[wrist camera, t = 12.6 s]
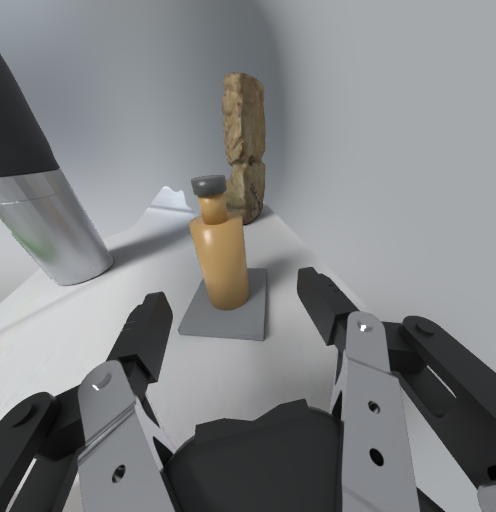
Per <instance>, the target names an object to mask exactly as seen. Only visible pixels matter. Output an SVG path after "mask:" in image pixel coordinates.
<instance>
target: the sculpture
mask: <svg viewBox="0 0 496 512" xmlns="http://www.w3.org/2000/svg"><path fill="white" fill-rule="evenodd" d="M223 84H224V90H225V91H224V96H223V100H222V111H223V114H224V120H223V125H224V134H225V139H224V141H225V148H226V156H227V161H228V163H229V164H230V165H231V166H232V167H233V169H232V173H231V177H230V178H229V179H228V180H227V181H226V187H227V190H226V191H225V192H224V194H225V201H226V208H227V212H235V213H238V214H240V215H241V216H242V223H243V224H247V223H250V222H251V221H252V220H253V219H254V218H256V217H257V216H258V215H259V214H260V212H261V211H262V208H263V198H264V189H265V164H264V163H263V162H262V160H261V158H262V156H263V153H264V152H265V117H264V107H263V101H264V86H263V84H262V83H261V82H260V81H259V80H257V79H256V78H254V77H252V76H249V75H247V74H245V73H229V74H227V75H226V76H225V77H224V81H223Z"/></svg>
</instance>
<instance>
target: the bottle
mask: <svg viewBox="0 0 496 512" xmlns="http://www.w3.org/2000/svg"><path fill="white" fill-rule="evenodd" d="M191 183H192V188H193V192H194V194H195V195H198V200H199V204H200V208H201V213H202V215H201V216H199V217H196V218H195V219H193V220H192V221H191V222H190V223H189V227H190V230H191V234H192V238H193V241H194V245H195V249H196V252H197V256H198V259H199V263H200V267H201V270H202V274H203V278H204V281H205V285H206V288H207V292H208V296H209V299H210V302H211V304H212V305H213V306H214V307H215V308H217V309H219V310H234V309H237V308H239V307H241V306H242V305H244V304H245V303H246V301H247V300H248V298H249V283H248V273H247V263H246V253H245V243H244V233H243V223H242V216H241V215H240V214H238V213H235V212H227V208H226V201H225V194H224V192H225V191H226V190H227V187H226V179H225V176H224V175H209V176H202V177H197V178H194V179H191Z"/></svg>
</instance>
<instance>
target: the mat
mask: <svg viewBox="0 0 496 512" xmlns="http://www.w3.org/2000/svg"><path fill="white" fill-rule="evenodd" d="M247 273H248V283H249V298H248V300H247V301H246V303H245V304H244V305H242V306H241V307H239V308H237V309H234V310H219V309H217V308H215V307H214V306H213V305H212V304H211V302H210V299H209V296H208V292H207V288H206V285H205V281H204V278H203V280H202V282H201V284H200V286H199V288H198V290H197V292H196V294H195V296H194V298H193V300H192V302H191V304H190V306H189V308H188V310H187V312H186V314H185V316H184V318H183V320H182V322H181V324H180V326H179V328H178V332H179V334H180V335H190V336H204V337H218V338H232V339H246V340H260V341H264V321H265V300H266V279H267V269H250V268H247Z"/></svg>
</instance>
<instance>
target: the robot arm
mask: <svg viewBox="0 0 496 512" xmlns="http://www.w3.org/2000/svg"><path fill="white" fill-rule="evenodd" d="M59 168H60V167H59V165H58V164H57V162H56V160H55V158H54V156H53V153H52V150H51V148H50V145H49V143H48V141H47V139H46V137H45V135H44V134H43V132H42V130H41V128H40V126H39V125H38V123H37V121H36V119H35V117H34V115H33V113H32V111H31V109H30V107H29V105H28V104H27V101H26V99H25V98H24V95H23V93H22V91H21V89H20V87H19V86H18V84H17V82H16V80H15V78H14V76H13V74H12V73H11V71H10V69H9V67H8V66H7V64H6V62H5V61H4V59H3V58H2V56H1V54H0V219H1V220H2V222H3V223H4V224H5V225H6V226H7V227H8V229H9V230H10V231H11V232H12V235H13V237H14V238H15V239H16V240H17V241H18V242H19V243H20V244H21V246H22V247H23V248H24V249H25V250H26V251H27V252H28V254H29V255H30V256H31V257H32V258H33V259H34V260H35V262H36V263H37V264H38V265H39V266H40V267H41V268H42V269H43V271H44V272H45V273H46V274H47V275H48V276H49V277H50V279H53V280H54V281H55V283H57V284H59V285H72V284H77V283H80V282H83V281H86V280H89V279H91V278H93V277H96V276H98V275H99V274H101V273H103V272H104V271H106V270H107V269H108V268H109V267H110V266H111V265H112V264H113V262H114V260H113V258H112V256H111V254H110V253H109V251H108V249H107V248H106V246H105V244H104V242H103V241H102V239H101V237H100V235H99V234H98V232H97V230H96V229H95V227H94V225H93V223H92V222H91V220H90V218H89V217H88V215H87V213H86V211H85V210H84V208H83V206H82V205H81V203H80V201H79V199H78V198H77V196H76V194H75V193H74V191H73V189H72V188H71V186H70V184H69V182H68V181H67V179H66V178H65V176H64V174H63V172H62V171H61V169H59ZM297 293H298V296H299V298H300V300H301V302H302V303H303V305H304V307H305V309H306V310H307V312H308V314H309V316H310V317H311V319H312V321H313V322H314V324H315V326H316V328H317V329H318V331H319V333H320V335H321V336H322V338H323V340H324V341H325V343H326V345H327V346H329V345H334V344H335V346H336V347H337V349H338V350H337V355H336V365H335V374H334V383H333V391H332V396H331V401H330V407H329V413H328V412H326V411H323V410H321V409H318V408H314V407H309V406H308V405H307V403H306V400H305V399H301V400H297V401H292V402H288V403H284V404H280V405H278V406H277V407H275V408H273V409H272V410H270V411H269V412H267V413H266V414H264V415H263V416H261V417H259V418H258V419H256V420H254V421H246V420H236V419H226V418H223V419H219V420H215V421H211V422H207V423H203V424H199V425H196V430H195V435H194V436H192V437H191V438H190V439H188V440H187V441H186V442H185V443H184V444H183V445H182V446H181V447H180V448H179V449H178V450H177V451H176V450H175V448H174V446H173V444H172V442H171V440H170V439H169V437H168V436H167V434H166V433H165V431H164V429H163V427H162V425H161V423H160V421H159V419H158V416H157V414H156V412H155V410H154V408H153V406H152V404H151V402H150V400H149V397H148V395H147V394H146V390H147V386H148V384H150V383H155V382H158V378H159V374H160V370H161V365H162V361H163V357H164V353H165V349H166V345H167V341H168V337H169V333H170V329H171V324H172V320H173V314H172V310H171V308H170V305H169V303H168V301H167V299H166V296H165V294H164V293H163V292H157V293H151V294H147V295H146V297H145V299H144V302H143V304H142V305H138V306H137V307H136V308H135V309H134V310H133V311H132V312H131V313H130V315H129V317H128V319H127V321H126V324H125V325H124V327H123V329H122V331H121V333H120V335H119V337H118V338H117V340H116V342H115V344H114V346H113V348H112V350H111V352H110V354H109V356H108V358H107V360H106V362H104V363H102V364H100V365H99V366H97V367H96V368H94V369H93V370H92V371H91V372H90V373H89V374H88V375H87V376H86V377H85V378H84V380H83V381H82V383H81V384H80V385H78V386H76V387H74V388H71V389H69V390H67V391H65V392H63V393H61V394H59V395H57V396H55V397H54V396H52V395H51V394H49V393H47V392H40V393H36V394H34V395H32V396H30V397H28V398H26V399H24V400H23V401H21V402H20V403H19V404H17V405H16V406H15V407H14V408H12V409H11V410H10V411H9V412H8V413H7V414H6V415H5V416H4V417H3V418H2V420H1V421H0V512H5V511H6V509H7V506H8V504H9V502H10V500H11V498H12V497H13V495H14V493H15V491H16V489H17V487H18V486H19V484H20V482H21V480H22V478H23V476H24V475H25V473H26V471H27V469H28V467H29V465H30V464H31V462H32V460H33V458H34V459H37V460H36V462H35V464H34V466H33V468H32V469H31V471H30V473H29V475H28V477H27V479H26V481H25V483H24V484H23V486H22V488H21V490H20V492H19V494H18V496H17V498H16V499H15V501H14V503H13V505H12V507H11V509H10V511H9V512H62V510H63V508H64V505H65V503H66V500H67V498H68V495H69V492H70V490H71V487H72V485H73V482H74V480H75V477H76V474H77V472H79V480H80V487H81V495H82V503H83V511H84V512H445V511H444V510H443V509H442V508H440V507H439V506H438V505H437V504H436V503H435V502H433V501H432V500H431V499H430V498H429V497H428V496H427V495H425V494H424V493H423V492H422V491H421V490H420V489H419V488H417V487H416V483H415V477H414V471H413V465H412V458H411V452H410V446H409V439H408V433H407V427H406V421H405V415H404V408H403V402H402V396H401V389H400V385H401V387H402V388H403V390H404V391H405V392H406V393H407V395H408V396H409V398H410V399H411V400H412V402H413V403H414V404H415V406H416V407H417V408H418V410H419V411H420V413H421V414H422V415H423V417H424V418H425V419H426V421H427V422H428V423H429V425H430V426H431V428H432V429H433V430H434V431H435V433H436V434H437V436H438V437H439V438H440V440H441V441H442V442H443V444H444V445H445V446H446V448H447V449H448V451H449V452H450V453H451V455H452V456H453V457H454V459H455V460H456V461H457V463H458V464H459V465H460V467H461V468H462V470H463V471H464V472H465V474H466V475H467V476H468V478H469V479H470V480H471V482H472V483H473V485H474V486H475V487H476V489H477V490H478V493H477V496H478V501H479V505H480V508H481V510H482V512H496V373H495V372H494V371H493V370H492V369H490V368H489V367H488V366H487V365H486V364H484V363H483V362H482V361H481V360H480V359H478V358H477V357H476V356H475V355H474V354H472V353H471V352H470V351H469V350H468V349H466V348H465V347H464V346H463V345H462V344H460V343H459V342H458V341H457V340H456V339H454V338H453V337H452V336H451V335H450V334H448V333H447V332H446V331H445V330H443V329H442V328H441V327H440V326H439V325H437V324H436V323H434V322H432V321H430V320H428V319H426V318H423V317H419V316H407V317H405V319H404V320H403V322H402V323H392V322H382V321H380V320H379V319H377V318H376V317H375V316H373V315H371V314H369V313H366V312H362V311H359V310H358V309H357V307H356V306H355V305H354V304H353V303H352V302H351V301H350V300H349V299H348V298H347V296H346V295H345V294H344V293H343V292H342V291H340V289H339V288H338V287H337V286H336V284H335V283H334V282H333V281H332V280H331V279H330V278H329V277H327V276H325V275H324V274H318V273H317V272H316V270H315V269H314V268H313V267H307V268H301V269H299V270H298V280H297ZM427 365H428V366H429V367H430V368H431V369H432V370H433V371H434V372H435V373H436V374H437V375H438V376H439V377H440V378H441V379H442V381H443V382H445V383H446V385H447V386H448V387H449V388H450V389H451V390H452V392H453V393H454V394H455V396H456V398H457V399H456V398H455V397H454V396H453V395H452V394H451V392H450V391H448V389H447V388H446V387H445V386H444V385H443V384H442V383H441V381H440V380H439V379H438V378H437V377H436V376H435V375H434V374H433V373H432V372H431V371H430V370H429V369H428V368H427ZM391 373H392V374H391Z"/></svg>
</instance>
